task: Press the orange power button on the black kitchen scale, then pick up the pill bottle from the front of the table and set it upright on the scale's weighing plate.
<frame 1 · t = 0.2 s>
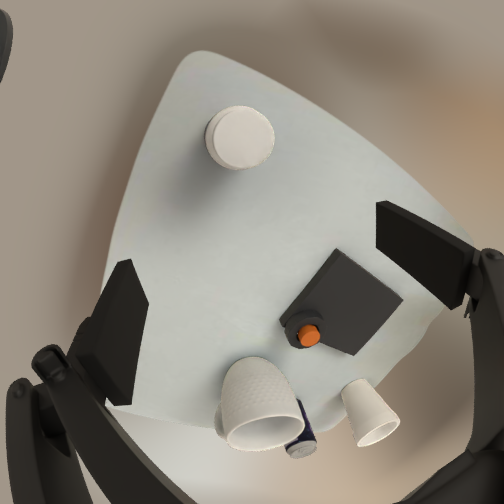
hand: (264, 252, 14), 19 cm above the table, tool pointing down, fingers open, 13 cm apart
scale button: (308, 335, 37), point 4 cm above the table, slide at 0.1 cm
pill bottle: (230, 135, 29), on the table
beverage can: (286, 402, 50), on the table
scale: (345, 307, 42), on the table
foam cup: (353, 387, 53), on the table
mug: (244, 372, 44), on the table
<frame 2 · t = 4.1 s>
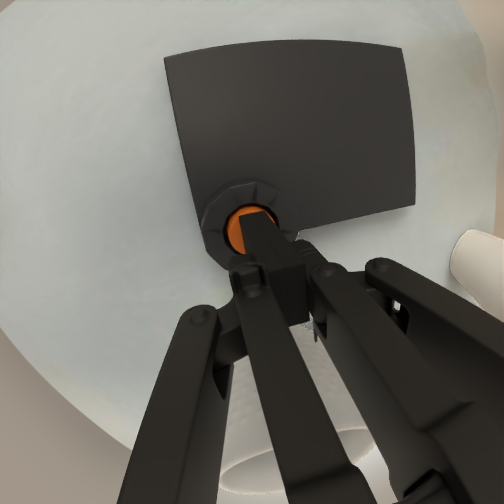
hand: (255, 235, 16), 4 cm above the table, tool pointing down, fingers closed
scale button: (250, 229, 17), point 3 cm above the table, slide at -0.6 cm, touching gripper
scale: (307, 131, 18), on the table
foam cup: (464, 252, 27), on the table
mug: (259, 349, 26), on the table
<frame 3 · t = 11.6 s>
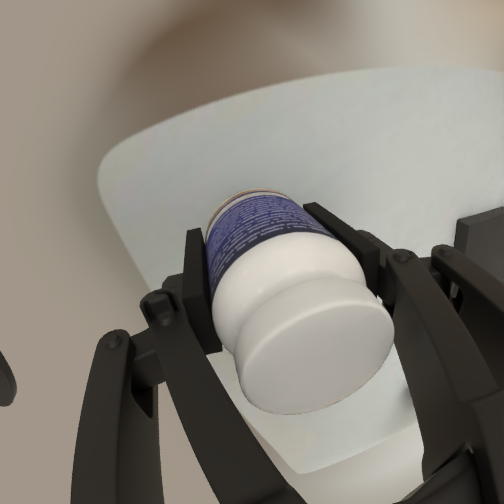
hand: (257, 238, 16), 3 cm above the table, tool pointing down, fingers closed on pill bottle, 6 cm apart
pill bottle: (255, 235, 16), point 3 cm above the table, touching gripper
scale: (489, 258, 25), on the table
when the fingers open (2 cm above the table, at t = 18.7 s): pill bottle stays where it is, resting on scale.
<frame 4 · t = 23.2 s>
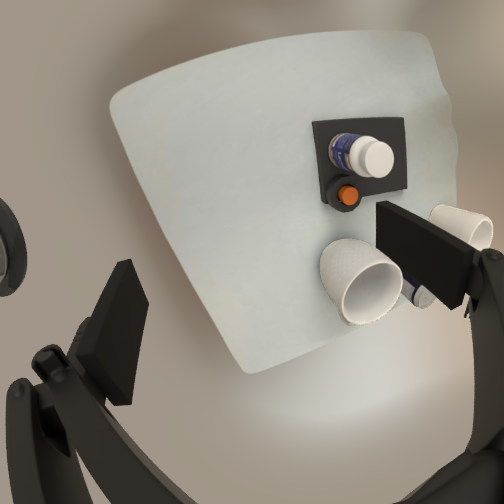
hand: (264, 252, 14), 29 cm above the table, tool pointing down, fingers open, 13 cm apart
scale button: (348, 195, 41), point 4 cm above the table, slide at 0.1 cm
pill bottle: (343, 150, 40), point 2 cm above the table, touching scale
beverage can: (392, 266, 53), on the table
scale: (362, 156, 42), on the table
foam cup: (437, 217, 51), on the table
mug: (336, 261, 50), on the table
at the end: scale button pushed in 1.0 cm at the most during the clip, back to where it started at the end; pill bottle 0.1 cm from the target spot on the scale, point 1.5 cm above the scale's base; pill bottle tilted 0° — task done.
